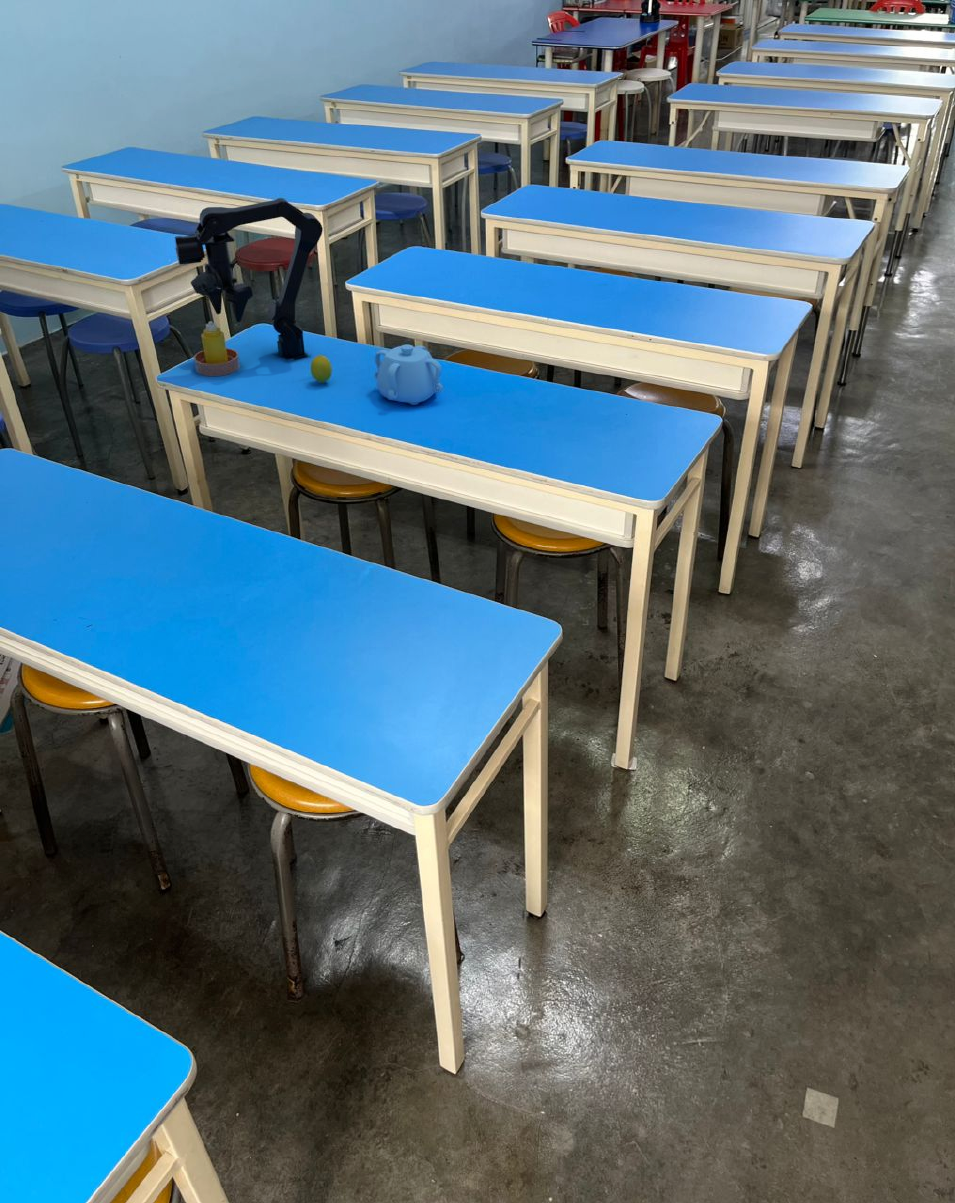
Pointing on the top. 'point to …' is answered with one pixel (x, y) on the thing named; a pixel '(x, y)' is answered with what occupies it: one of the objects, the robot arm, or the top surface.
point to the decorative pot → (407, 374)
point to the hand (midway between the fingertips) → (228, 317)
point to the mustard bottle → (214, 344)
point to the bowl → (219, 368)
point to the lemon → (321, 368)
